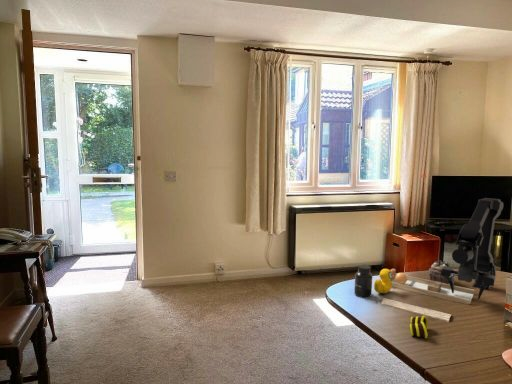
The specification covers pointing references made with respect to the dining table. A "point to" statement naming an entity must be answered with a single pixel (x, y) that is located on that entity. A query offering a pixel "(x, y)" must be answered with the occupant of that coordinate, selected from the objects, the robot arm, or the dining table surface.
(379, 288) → the duckling
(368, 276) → the supplement bottle
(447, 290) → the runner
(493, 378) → the dining table surface
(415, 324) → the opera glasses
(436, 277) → the cupcake
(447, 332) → the dining table surface
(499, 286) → the dining table surface
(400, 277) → the ball
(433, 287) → the paddle block
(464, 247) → the robot arm
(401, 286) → the lane rails
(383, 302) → the beige long flat bar
